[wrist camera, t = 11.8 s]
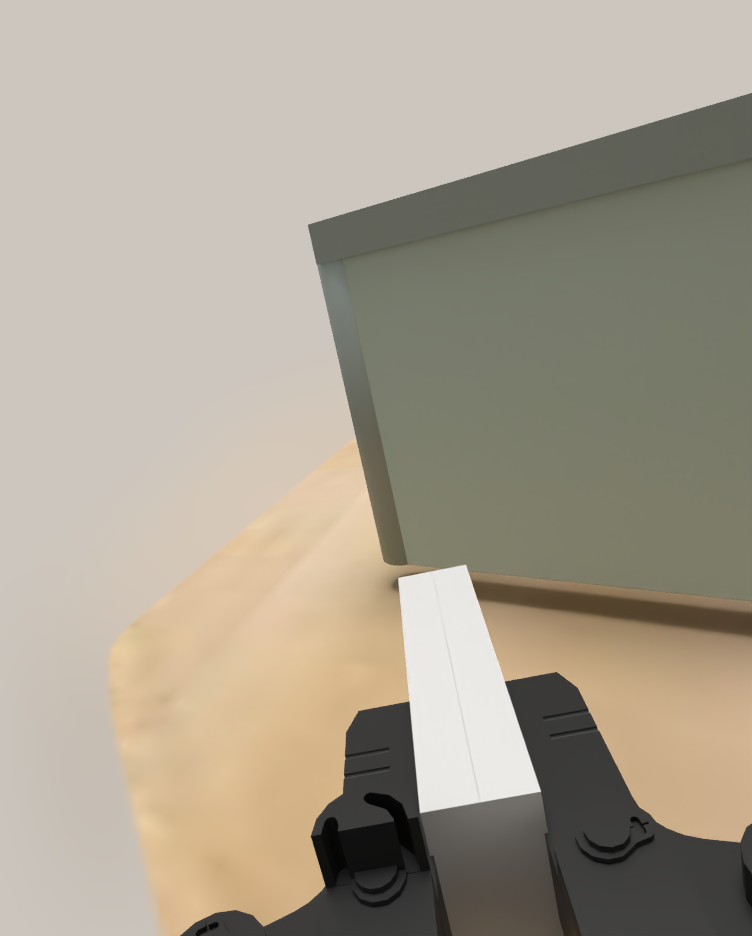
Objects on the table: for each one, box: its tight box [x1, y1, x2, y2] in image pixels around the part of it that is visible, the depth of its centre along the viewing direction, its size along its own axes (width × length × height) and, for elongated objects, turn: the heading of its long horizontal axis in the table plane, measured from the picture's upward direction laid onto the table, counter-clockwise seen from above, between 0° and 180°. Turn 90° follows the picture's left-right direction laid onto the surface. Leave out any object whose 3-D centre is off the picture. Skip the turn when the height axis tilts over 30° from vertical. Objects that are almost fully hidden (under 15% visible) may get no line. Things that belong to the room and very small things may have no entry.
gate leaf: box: [308, 93, 752, 601], centre depth 25 cm, size 20×3×16 cm, turn 55°
